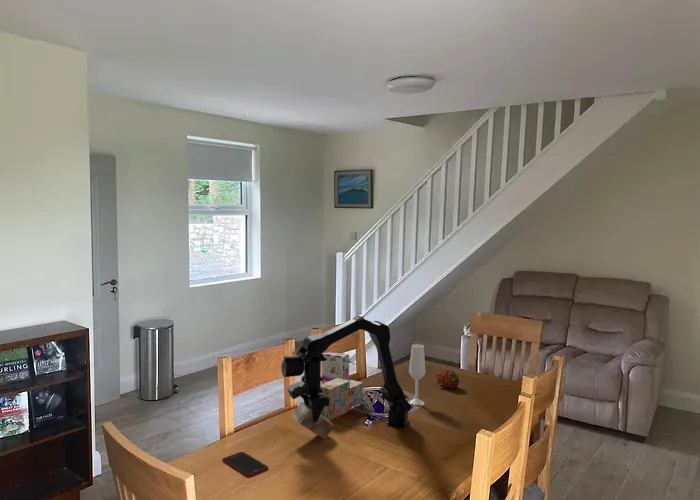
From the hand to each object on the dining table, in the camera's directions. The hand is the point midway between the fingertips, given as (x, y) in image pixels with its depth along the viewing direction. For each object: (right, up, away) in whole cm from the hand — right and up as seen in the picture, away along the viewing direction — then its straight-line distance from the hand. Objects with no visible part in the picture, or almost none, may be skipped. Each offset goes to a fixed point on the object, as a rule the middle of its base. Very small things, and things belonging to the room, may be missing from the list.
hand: (311, 418), depth 184 cm
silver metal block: (+5, -5, +2) cm, 7 cm away
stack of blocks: (+10, -6, +27) cm, 29 cm away
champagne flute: (+41, -5, +36) cm, 54 cm away
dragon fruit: (+57, -4, +57) cm, 80 cm away
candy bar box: (+7, -4, +49) cm, 50 cm away
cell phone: (-19, -9, -20) cm, 29 cm away
